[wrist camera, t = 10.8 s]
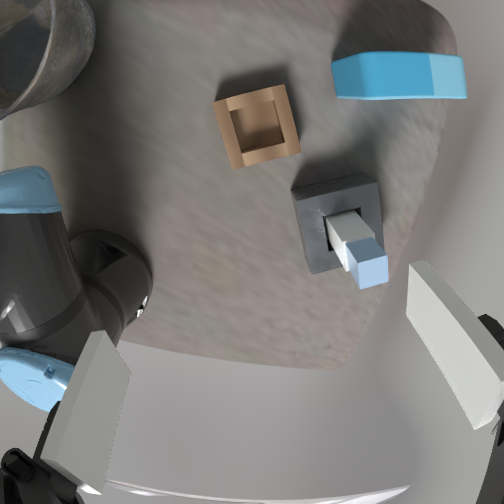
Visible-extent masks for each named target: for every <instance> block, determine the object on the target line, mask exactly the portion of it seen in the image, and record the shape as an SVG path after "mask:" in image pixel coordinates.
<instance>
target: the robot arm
mask: <svg viewBox="0 0 504 504" xmlns="http://www.w3.org/2000/svg"><path fill="white" fill-rule="evenodd" d="M61 211H62V207H61V205H60V204H59V203H58V200H57V196H56V193H55V190H54V187H53V183H52V180H51V177H50V175H49V173H48V172H47V171H46V170H45V169H44V168H42V167H39V166H27V167H21V168H16V169H12V170H7V171H3V172H0V342H1V344H2V348H1V349H0V378H1V380H2V381H3V382H4V383H5V384H6V385H7V386H8V387H9V388H10V389H11V390H12V391H13V392H14V393H16V394H17V395H18V396H19V397H21V398H22V399H24V400H25V401H27V402H28V403H30V404H32V405H34V406H36V407H38V408H40V409H42V410H44V411H47V412H50V413H49V415H48V418H47V422H46V423H45V426H44V430H43V431H42V434H41V436H40V439H39V442H38V445H37V447H36V450H35V453H34V456H33V458H32V459H31V458H30V457H29V456H27V455H26V454H25V453H24V452H23V451H21V450H20V449H19V448H12V449H10V450H8V451H7V452H6V453H5V454H4V456H3V458H2V460H1V468H0V504H84V502H83V500H82V498H81V496H80V495H79V494H78V493H77V492H76V490H77V486H78V487H79V488H81V489H82V490H84V491H85V492H87V493H94V494H100V495H102V493H103V488H104V483H105V478H106V473H107V468H108V464H109V459H110V455H111V450H112V446H113V442H114V437H115V433H116V429H117V425H118V421H119V417H120V413H121V409H122V405H123V401H124V397H125V394H126V390H127V386H128V383H129V379H130V375H131V371H130V369H129V368H128V366H127V365H126V363H125V362H124V360H123V359H122V357H121V356H120V354H119V352H118V351H117V349H116V347H117V344H118V342H119V339H120V337H121V334H122V332H123V330H124V329H125V328H126V327H127V326H129V325H130V324H131V323H132V322H133V321H134V320H135V319H136V318H138V317H139V316H140V315H141V313H142V312H143V311H144V309H145V307H146V305H147V303H148V300H149V298H150V295H151V291H152V278H151V273H150V270H149V267H148V265H147V263H146V261H145V259H144V258H143V256H142V255H141V254H140V252H139V251H138V250H137V249H136V248H135V247H134V246H133V245H132V244H130V243H129V242H128V241H126V240H125V239H123V238H121V237H120V236H118V235H115V234H113V233H110V232H105V231H87V232H84V233H81V234H79V235H77V236H76V237H74V238H73V239H72V240H71V241H69V238H68V235H67V231H66V228H65V224H64V220H63V217H62V213H61ZM408 282H409V283H408V297H407V298H408V299H407V311H406V316H407V317H408V319H409V320H410V322H411V323H412V325H413V326H414V328H415V329H416V331H417V332H418V334H419V336H420V337H421V339H422V340H423V342H424V343H425V345H426V347H427V348H428V350H429V351H430V353H431V355H432V356H433V358H434V359H435V361H436V363H437V364H438V366H439V368H440V370H441V371H442V373H443V375H444V376H445V378H446V379H447V381H448V383H449V385H450V386H451V388H452V390H453V391H454V394H455V395H456V397H457V399H458V401H459V402H460V404H461V406H462V408H463V410H464V412H465V413H466V415H467V417H468V419H469V421H470V422H471V424H472V427H473V428H474V430H476V429H478V428H479V427H481V426H483V425H485V424H487V423H489V422H490V421H491V420H492V419H493V418H494V416H495V414H496V413H497V412H498V414H499V416H500V420H499V421H498V423H497V425H496V426H495V427H494V429H493V431H492V433H491V434H494V433H495V432H496V430H497V432H496V437H495V441H494V446H493V449H492V453H491V457H490V461H489V465H488V468H487V472H486V475H485V478H484V481H483V484H482V487H481V490H480V493H479V496H478V499H477V502H476V504H504V329H503V327H502V326H501V325H500V324H499V323H498V322H497V320H495V319H493V318H492V317H490V316H488V315H487V314H484V315H481V316H479V317H476V316H475V315H474V313H473V312H472V311H471V310H470V309H469V307H468V306H467V305H466V304H465V303H464V302H463V301H462V299H461V298H460V297H459V296H458V295H457V294H456V293H455V292H454V290H453V289H452V288H451V287H450V286H449V285H448V284H447V283H446V282H445V281H444V280H443V278H441V276H440V275H439V274H438V273H437V272H436V271H435V270H434V269H433V268H432V267H431V266H430V265H429V264H428V263H427V262H426V261H425V260H421V261H418V262H414V263H411V264H409V281H408Z"/></svg>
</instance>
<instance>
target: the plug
mask: <svg viewBox="0 0 504 504" xmlns="http://www.w3.org/2000/svg"><path fill="white" fill-rule="evenodd" d="M323 219H324V225H325V230H326V236H327V238H328V240H329V241H330V243H331V245H332V247H333V249H334V250H335V252H336V254H337V256H338V258H339V259H340V261H341V263H342V265H343V267H344V269H345V270H346V272H347V271H350V272H351V274H352V276H353V277H354V279H355V281H356V283H357V285H358V287H359V288H360V289H364V288H367V287H371V286H374V285H378V284H381V283H385V282H388V260H387V254H386V253H385V252H384V250H383V249H382V248H381V247H380V246H379V244H378V243H377V242H376V241H375V233H374V232H373V231H372V230H371V229H370V228H369V226H368V225H367V224H366V223H365V222H364V221H363V220H362V218H361V217H360V216H359V215H358V214H357V213H356V212H355V211H354V210H353V209H351V210H347V211H343V212H339V213H334V214H330V215H326V216H323Z"/></svg>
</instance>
